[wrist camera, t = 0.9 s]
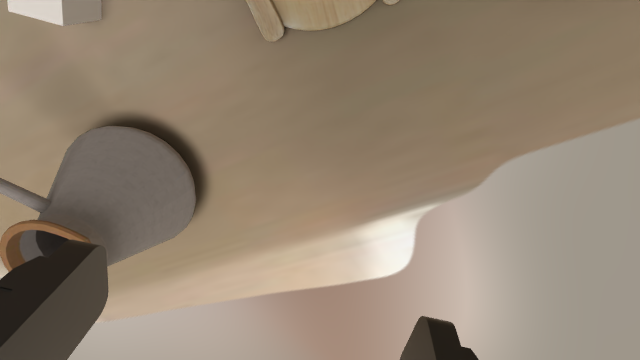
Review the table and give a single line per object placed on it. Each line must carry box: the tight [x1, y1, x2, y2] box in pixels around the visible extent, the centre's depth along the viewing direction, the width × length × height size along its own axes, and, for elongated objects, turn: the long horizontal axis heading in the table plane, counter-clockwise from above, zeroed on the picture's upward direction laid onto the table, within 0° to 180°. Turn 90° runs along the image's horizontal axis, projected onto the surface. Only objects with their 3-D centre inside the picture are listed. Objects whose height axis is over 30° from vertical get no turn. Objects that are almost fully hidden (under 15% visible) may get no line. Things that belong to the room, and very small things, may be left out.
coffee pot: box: [0, 126, 196, 272], centre depth 27 cm, size 21×12×15 cm, turn 34°
